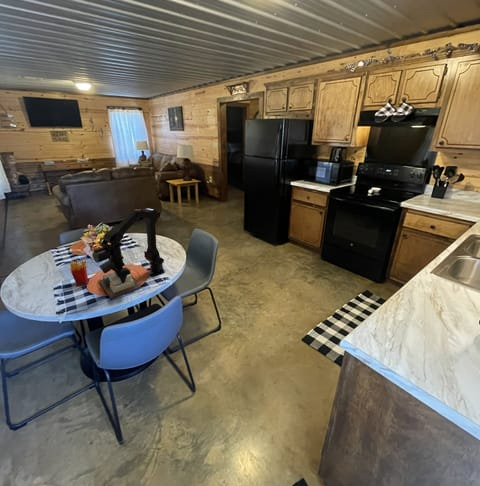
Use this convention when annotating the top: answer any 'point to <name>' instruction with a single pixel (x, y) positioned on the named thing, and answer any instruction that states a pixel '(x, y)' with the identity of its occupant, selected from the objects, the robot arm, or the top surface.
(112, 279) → the cream book
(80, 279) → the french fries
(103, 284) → the walnut board
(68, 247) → the top surface
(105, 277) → the grey rectangular block
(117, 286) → the cream books
